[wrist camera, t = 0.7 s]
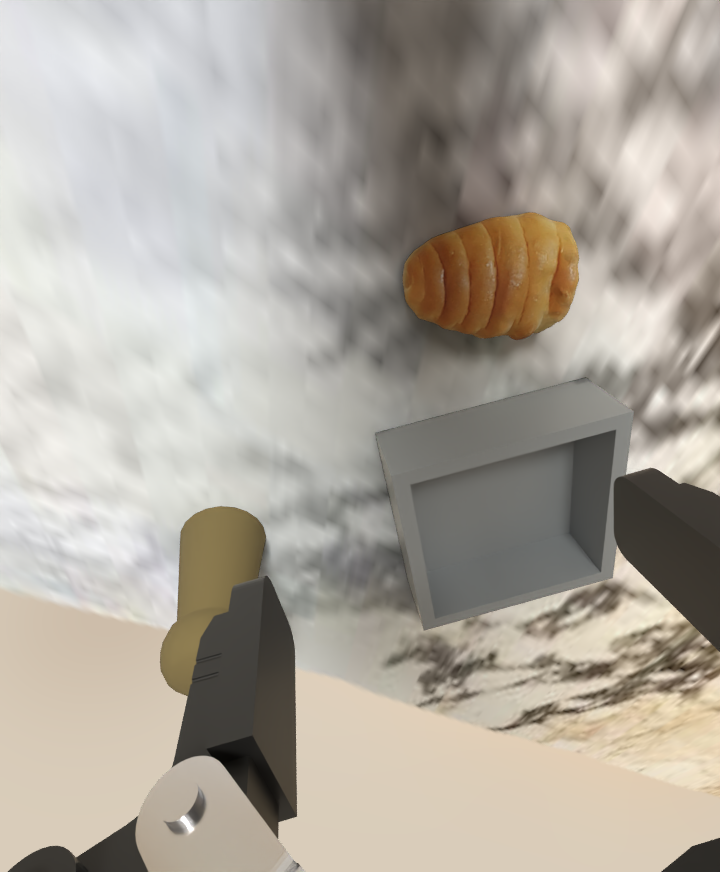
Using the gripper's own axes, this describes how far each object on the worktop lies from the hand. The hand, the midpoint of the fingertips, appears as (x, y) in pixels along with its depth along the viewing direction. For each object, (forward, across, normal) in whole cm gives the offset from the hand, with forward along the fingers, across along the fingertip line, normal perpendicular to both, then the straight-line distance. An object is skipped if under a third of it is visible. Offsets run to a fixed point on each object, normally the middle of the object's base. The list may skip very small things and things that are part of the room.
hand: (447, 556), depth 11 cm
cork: (+21, +12, +12) cm, 27 cm away
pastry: (+20, -9, -2) cm, 22 cm away
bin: (+21, -8, +14) cm, 27 cm away
